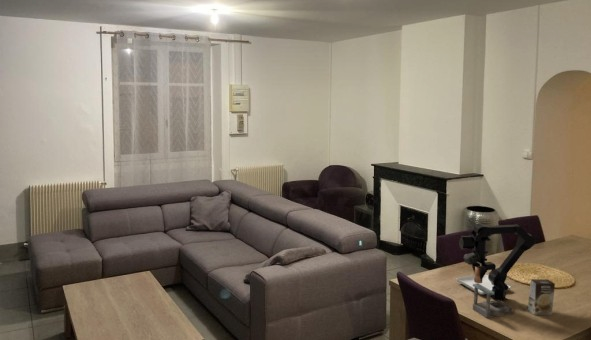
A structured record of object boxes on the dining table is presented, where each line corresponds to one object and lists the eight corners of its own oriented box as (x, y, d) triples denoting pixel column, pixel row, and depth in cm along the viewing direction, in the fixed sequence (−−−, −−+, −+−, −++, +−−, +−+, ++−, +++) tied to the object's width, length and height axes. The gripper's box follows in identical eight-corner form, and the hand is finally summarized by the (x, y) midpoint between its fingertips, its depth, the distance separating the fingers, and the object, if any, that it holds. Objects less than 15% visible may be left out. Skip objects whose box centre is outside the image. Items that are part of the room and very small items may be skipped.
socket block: (496, 304, 254) (498, 280, 251) (513, 314, 242) (515, 289, 240) (471, 308, 249) (472, 284, 247) (487, 318, 238) (489, 293, 235)
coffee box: (534, 315, 241) (536, 284, 239) (527, 309, 248) (529, 279, 245) (552, 315, 242) (555, 283, 239) (545, 309, 248) (548, 278, 245)
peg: (478, 279, 261) (479, 265, 260) (483, 282, 258) (484, 268, 256) (472, 280, 260) (473, 266, 259) (477, 283, 257) (478, 268, 255)
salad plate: (512, 292, 270) (512, 286, 269) (481, 298, 262) (481, 292, 262) (484, 278, 289) (484, 273, 289) (454, 283, 282) (455, 278, 281)
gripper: (455, 244, 263) (454, 272, 265) (478, 255, 245) (476, 285, 247) (473, 242, 266) (472, 270, 268) (497, 253, 248) (495, 283, 251)
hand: (478, 277), depth 259 cm, fingers closed on peg, 4 cm apart
